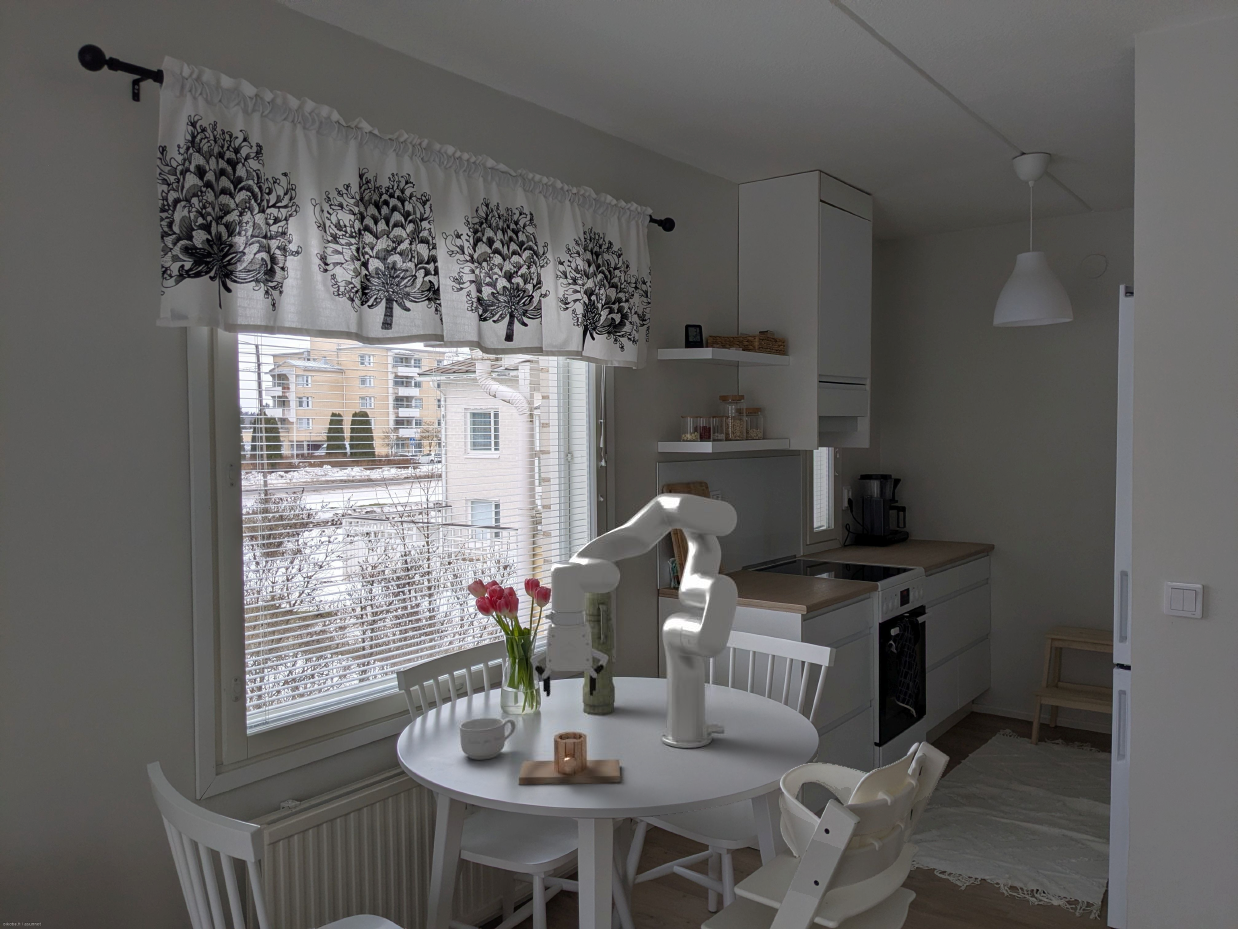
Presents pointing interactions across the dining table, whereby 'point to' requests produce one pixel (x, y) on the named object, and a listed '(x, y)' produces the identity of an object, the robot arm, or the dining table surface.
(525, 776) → the duct board
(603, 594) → the olive green tall cylinder
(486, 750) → the teacup
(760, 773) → the dining table surface
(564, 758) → the wooden stave mug
